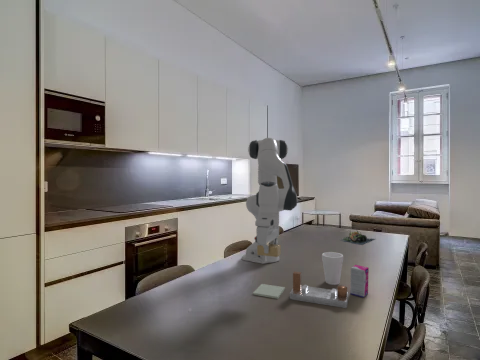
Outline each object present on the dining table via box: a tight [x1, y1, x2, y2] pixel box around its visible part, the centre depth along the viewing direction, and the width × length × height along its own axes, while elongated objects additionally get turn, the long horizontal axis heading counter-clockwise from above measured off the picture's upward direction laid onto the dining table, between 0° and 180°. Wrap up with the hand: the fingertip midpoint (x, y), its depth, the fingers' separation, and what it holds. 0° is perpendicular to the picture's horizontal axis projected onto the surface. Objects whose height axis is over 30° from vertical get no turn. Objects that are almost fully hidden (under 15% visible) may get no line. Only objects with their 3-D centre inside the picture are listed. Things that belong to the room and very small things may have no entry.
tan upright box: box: [257, 244, 282, 257], centre depth 129 cm, size 9×5×4 cm, turn 67°
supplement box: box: [349, 264, 370, 298], centre depth 126 cm, size 6×6×12 cm
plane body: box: [289, 271, 349, 309], centre depth 122 cm, size 22×10×10 cm, turn 66°
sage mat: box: [252, 283, 286, 300], centre depth 129 cm, size 11×11×1 cm
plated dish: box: [340, 230, 376, 246], centre depth 229 cm, size 35×28×7 cm
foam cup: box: [321, 251, 344, 286], centre depth 140 cm, size 10×9×13 cm
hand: (269, 251), depth 129 cm, fingers closed on tan upright box, 5 cm apart
